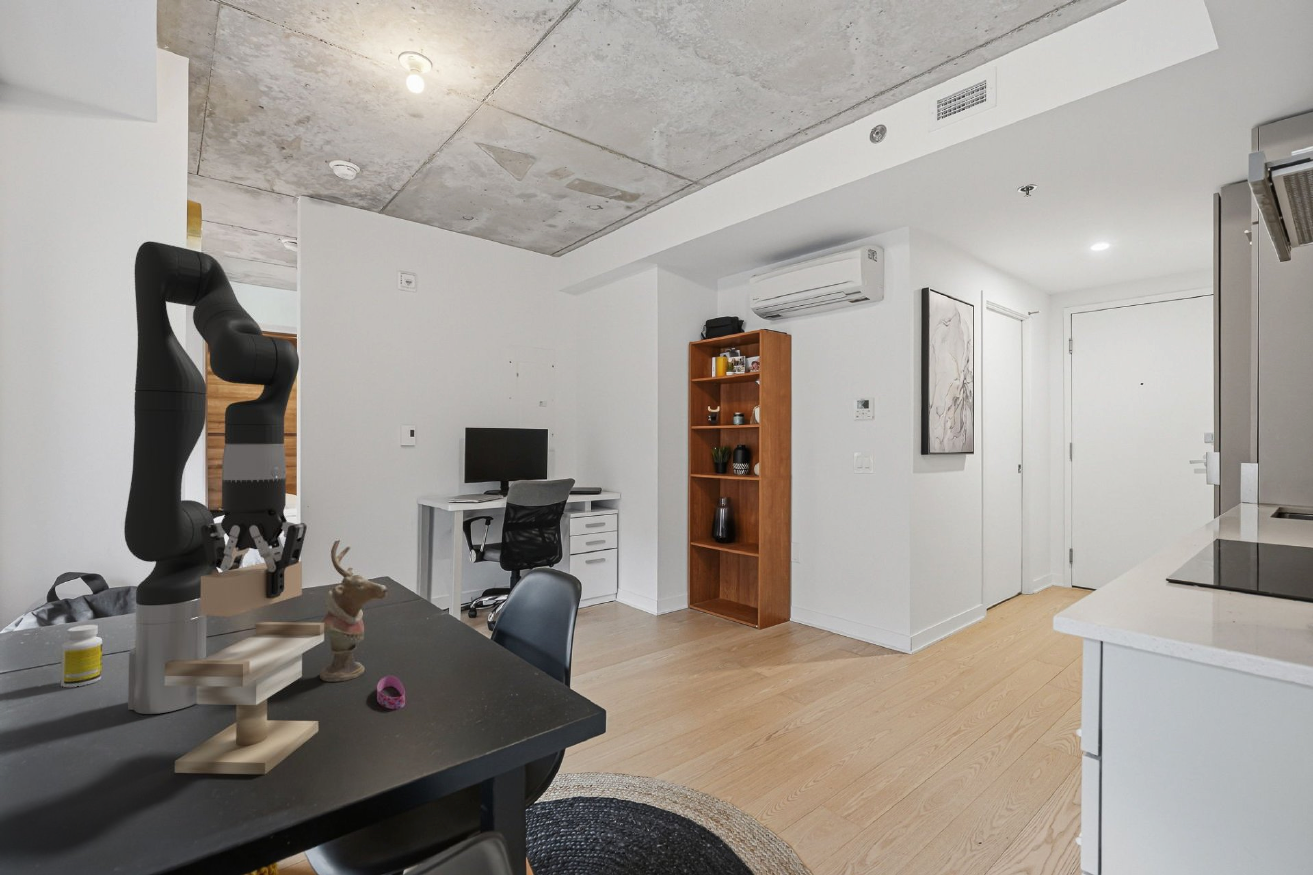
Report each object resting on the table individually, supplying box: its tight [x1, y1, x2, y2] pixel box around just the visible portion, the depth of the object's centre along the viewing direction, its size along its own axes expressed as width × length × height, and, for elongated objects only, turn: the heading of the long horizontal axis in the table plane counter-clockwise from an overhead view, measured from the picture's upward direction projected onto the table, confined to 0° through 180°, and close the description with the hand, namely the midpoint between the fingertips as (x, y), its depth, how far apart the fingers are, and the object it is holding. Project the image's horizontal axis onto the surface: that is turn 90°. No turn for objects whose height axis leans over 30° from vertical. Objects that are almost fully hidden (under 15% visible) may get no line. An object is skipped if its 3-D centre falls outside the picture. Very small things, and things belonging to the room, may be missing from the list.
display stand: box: [165, 621, 325, 775], centre depth 86 cm, size 12×18×15 cm, turn 179°
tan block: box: [201, 560, 303, 617], centre depth 86 cm, size 4×12×5 cm, turn 166°
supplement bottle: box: [60, 624, 103, 688], centre depth 110 cm, size 5×5×10 cm
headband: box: [376, 675, 406, 710], centre depth 104 cm, size 11×4×2 cm, turn 33°
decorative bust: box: [319, 539, 389, 682], centre depth 115 cm, size 11×13×25 cm
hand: (253, 596), depth 86 cm, fingers closed on tan block, 5 cm apart
